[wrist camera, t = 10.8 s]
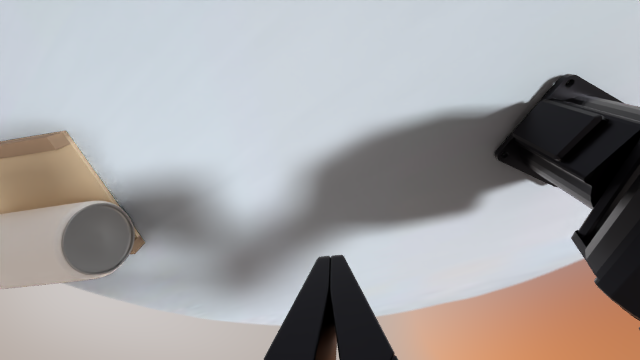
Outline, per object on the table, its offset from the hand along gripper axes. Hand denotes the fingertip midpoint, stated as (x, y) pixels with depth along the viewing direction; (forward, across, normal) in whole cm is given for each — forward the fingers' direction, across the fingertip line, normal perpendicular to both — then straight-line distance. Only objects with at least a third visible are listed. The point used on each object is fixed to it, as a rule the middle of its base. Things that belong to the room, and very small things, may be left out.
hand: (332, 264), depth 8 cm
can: (+9, +20, +5) cm, 22 cm away
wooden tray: (+12, +27, +2) cm, 30 cm away
